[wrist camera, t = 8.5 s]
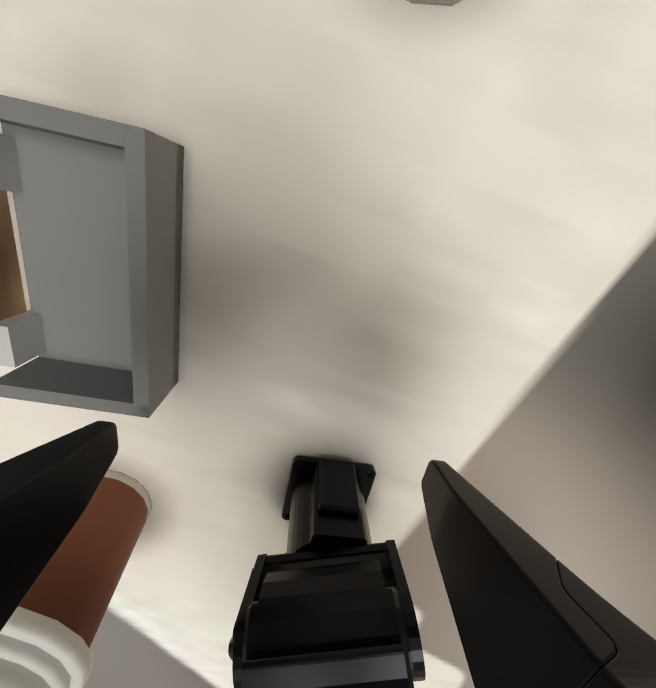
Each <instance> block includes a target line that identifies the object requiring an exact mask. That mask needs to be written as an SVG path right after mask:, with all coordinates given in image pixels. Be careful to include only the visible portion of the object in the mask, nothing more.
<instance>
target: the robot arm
mask: <svg viewBox="0 0 656 688" xmlns="http://www.w3.org/2000/svg"><path fill="white" fill-rule="evenodd" d="M117 451H118V437H117V427H116V424H115V423H113V422H106V421H97V422H94V423H92V424H90V425H87V426H85V427H83V428H80V429H78V430H76V431H73V432H71V433H69V434H67V435H64V436H62V437H60V438H57V439H55V440H53V441H51V442H48V443H46V444H44V445H41V446H39V447H37V448H34V449H32V450H30V451H28V452H25V453H23V454H21V455H18V456H16V457H14V458H11V459H9V460H7V461H5V462H2V463H0V632H1V630H2V629H3V627H4V626H5V624H6V623H7V622H8V620H9V619H10V617H11V616H12V614H13V613H14V612H15V610H16V609H17V607H18V606H19V604H20V603H21V601H22V600H23V599H24V597H25V596H26V594H27V593H28V591H29V590H30V589H31V587H32V586H33V584H34V583H35V581H36V580H37V579H38V577H39V576H40V574H41V573H42V571H43V570H44V568H45V567H46V566H47V564H48V563H49V561H50V560H51V558H52V557H53V556H54V554H55V553H56V551H57V550H58V548H59V547H60V545H61V544H62V543H63V541H64V540H65V538H66V537H67V535H68V534H69V533H70V531H71V530H72V528H73V527H74V525H75V524H76V522H77V521H78V520H79V518H80V517H81V515H82V514H83V512H84V511H85V509H86V508H87V506H88V504H89V503H90V501H91V499H92V497H93V496H94V494H95V492H96V490H97V488H98V487H99V485H100V483H101V481H102V479H103V478H104V476H105V474H106V472H107V471H108V469H109V467H110V465H111V463H112V462H113V460H114V458H115V456H116V454H117ZM298 463H301V464H298ZM368 472H370V473H368ZM375 475H376V472H375V469H374V467H373V466H369V465H361V464H354V463H346V462H339V461H332V460H324V459H317V458H310V457H302V456H297V457H295V458H294V459H293V462H292V467H291V472H290V477H289V481H288V486H287V491H286V496H285V501H284V505H283V510H282V518H283V519H285V520H289V531H288V543H287V553H286V554H277V555H268V556H267V554H263V555H258V557H257V560H256V563H255V566H254V568H253V569H252V572H251V576H250V579H249V582H248V585H247V588H246V591H245V594H244V597H243V601H242V604H241V607H240V610H239V613H238V616H237V619H236V622H235V625H234V629H233V636H232V638H231V640H230V643H229V649H228V653H229V656H230V658H231V660H232V661H233V684H234V688H414V685H413V681H423V680H425V665H424V658H423V651H422V645H421V640H420V635H419V629H418V624H417V620H416V615H415V611H414V606H413V602H412V599H411V595H410V592H409V588H408V585H407V581H406V578H405V575H404V571H403V568H402V565H401V561H400V558H399V554H398V551H397V548H396V544H395V541H394V540H386V542H383V543H374V544H371V537H370V531H369V525H368V519H367V513H366V507H365V504H366V501H367V499H368V496H369V493H370V490H371V487H372V484H373V481H374V478H375ZM422 492H423V497H424V503H425V508H426V513H427V519H428V524H429V529H430V534H431V539H432V543H433V546H434V550H435V553H436V557H437V560H438V564H439V567H440V571H441V574H442V577H443V580H444V584H445V588H446V591H447V594H448V598H449V601H450V604H451V608H452V611H453V615H454V618H455V622H456V625H457V628H458V632H459V635H460V638H461V642H462V645H463V649H464V652H465V656H466V659H467V663H468V666H469V669H470V673H471V676H472V680H473V683H474V686H475V688H656V640H655V639H654V638H653V637H651V636H650V635H649V634H647V633H646V632H645V631H643V630H642V629H641V628H640V627H639V626H637V625H636V624H635V623H633V622H632V621H631V620H630V619H628V618H627V617H626V616H624V615H623V614H622V613H621V612H620V611H618V610H617V609H616V608H615V607H613V606H612V605H611V604H610V603H608V602H607V601H606V600H605V599H603V598H602V597H601V596H600V595H598V594H597V593H596V592H595V591H594V590H592V589H591V588H590V587H589V586H588V585H587V584H585V583H584V582H583V581H582V580H581V579H580V578H578V577H577V576H576V575H575V574H574V573H572V572H571V571H570V570H569V569H568V568H567V567H565V566H564V565H563V564H562V563H561V562H560V561H558V560H556V558H555V557H554V556H553V555H552V554H550V553H549V552H548V551H547V550H546V549H545V548H544V547H542V546H541V545H540V544H539V543H538V542H537V541H536V540H534V539H533V538H532V537H531V536H530V535H529V534H528V533H526V532H525V531H524V530H523V529H522V528H521V527H519V526H518V525H517V524H516V523H515V522H514V521H513V520H511V519H510V518H509V517H508V516H507V515H506V514H505V513H503V512H502V511H501V510H500V509H499V508H498V507H496V506H495V505H494V504H493V503H492V502H491V501H490V500H488V499H487V498H486V497H485V496H484V495H483V494H482V493H480V492H479V491H478V490H477V489H476V488H474V487H473V486H472V485H471V484H470V483H469V482H468V481H466V480H465V479H464V478H463V477H462V476H461V475H460V474H458V473H457V472H456V471H455V470H454V469H453V468H452V467H450V466H449V465H448V464H447V463H446V462H444V461H438V460H431V461H430V462H429V464H428V466H427V469H426V471H425V474H424V477H423V479H422Z"/></svg>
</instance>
